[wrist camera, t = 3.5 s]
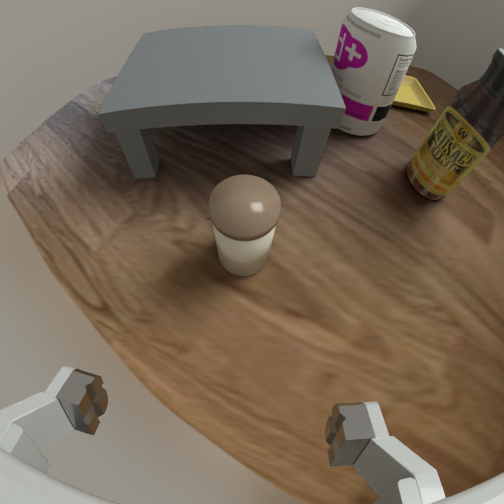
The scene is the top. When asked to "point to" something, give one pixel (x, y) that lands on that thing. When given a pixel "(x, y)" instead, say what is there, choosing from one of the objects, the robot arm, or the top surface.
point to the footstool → (224, 89)
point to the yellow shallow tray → (412, 96)
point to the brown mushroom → (244, 222)
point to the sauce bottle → (461, 134)
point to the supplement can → (370, 67)
